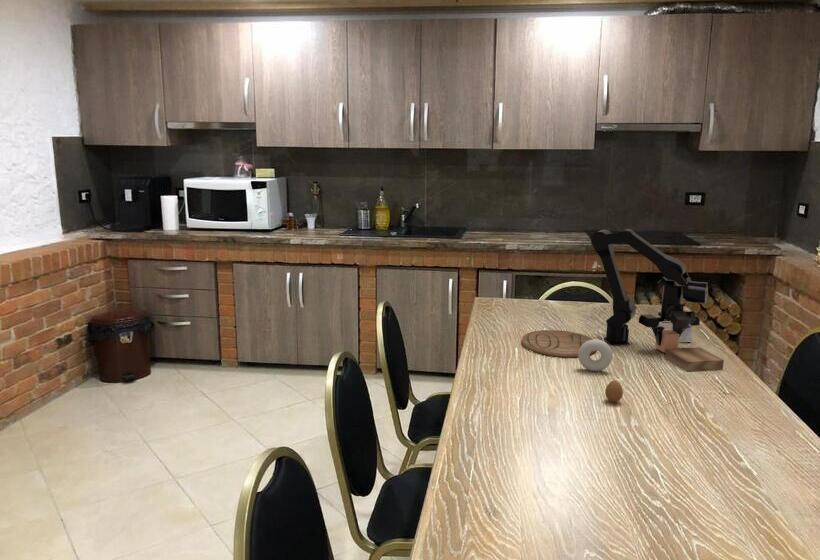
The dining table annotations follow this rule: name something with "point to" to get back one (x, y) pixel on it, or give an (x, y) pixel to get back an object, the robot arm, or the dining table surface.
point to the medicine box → (684, 334)
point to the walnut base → (694, 359)
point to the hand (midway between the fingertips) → (666, 344)
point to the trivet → (555, 343)
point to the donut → (595, 346)
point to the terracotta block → (668, 340)
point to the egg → (614, 391)
